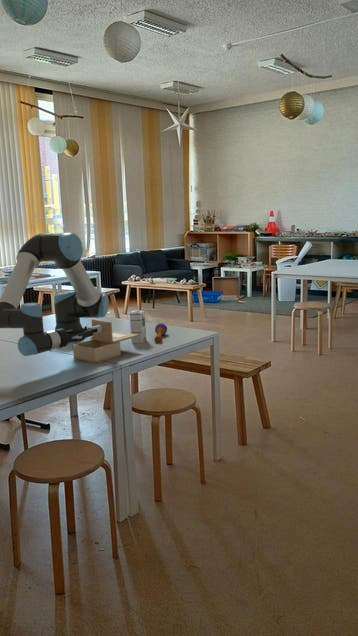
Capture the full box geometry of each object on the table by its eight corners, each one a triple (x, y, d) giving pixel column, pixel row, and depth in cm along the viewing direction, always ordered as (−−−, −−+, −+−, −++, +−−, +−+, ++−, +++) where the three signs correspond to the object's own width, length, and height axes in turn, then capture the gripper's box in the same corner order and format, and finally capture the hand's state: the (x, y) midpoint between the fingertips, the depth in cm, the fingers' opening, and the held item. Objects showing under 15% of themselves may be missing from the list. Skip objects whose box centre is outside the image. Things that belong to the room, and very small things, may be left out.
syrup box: (143, 343, 264) (141, 312, 261) (131, 343, 265) (129, 312, 263) (146, 340, 270) (144, 310, 267) (134, 340, 271) (132, 310, 268)
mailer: (73, 358, 241) (72, 344, 240) (98, 351, 252) (97, 338, 251) (95, 363, 232) (94, 349, 231) (120, 355, 243) (119, 342, 241)
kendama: (150, 335, 262) (154, 323, 282) (153, 347, 264) (157, 334, 283) (162, 332, 262) (165, 320, 281) (165, 344, 263) (168, 332, 283)
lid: (90, 339, 248) (89, 319, 246) (115, 332, 259) (114, 313, 257) (113, 343, 238) (112, 322, 237) (138, 336, 249) (137, 316, 248)
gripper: (46, 346, 230) (91, 335, 247) (66, 350, 221) (111, 338, 238) (44, 328, 228) (90, 318, 246) (65, 331, 220) (110, 320, 237)
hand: (100, 328), depth 242 cm, fingers closed
